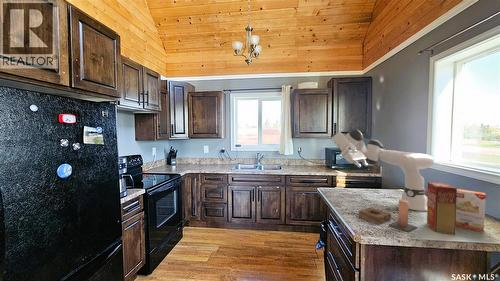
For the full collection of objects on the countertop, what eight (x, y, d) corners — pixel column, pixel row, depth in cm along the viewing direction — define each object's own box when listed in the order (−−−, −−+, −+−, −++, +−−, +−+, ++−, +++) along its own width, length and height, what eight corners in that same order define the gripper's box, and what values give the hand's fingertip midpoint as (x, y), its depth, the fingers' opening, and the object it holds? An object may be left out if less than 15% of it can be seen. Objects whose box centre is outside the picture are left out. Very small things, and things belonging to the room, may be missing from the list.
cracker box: (449, 224, 130) (451, 189, 129) (450, 221, 134) (451, 187, 133) (484, 232, 120) (486, 194, 119) (483, 229, 124) (485, 192, 123)
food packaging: (425, 222, 132) (427, 181, 131) (445, 225, 129) (446, 183, 128) (434, 232, 120) (436, 186, 119) (456, 235, 117) (458, 188, 116)
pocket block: (369, 213, 147) (370, 207, 147) (390, 220, 136) (391, 213, 136) (358, 217, 140) (358, 211, 140) (379, 224, 129) (379, 218, 129)
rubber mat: (397, 222, 133) (397, 220, 133) (416, 228, 125) (416, 226, 125) (388, 225, 128) (389, 224, 128) (408, 232, 119) (408, 230, 119)
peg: (400, 223, 129) (401, 199, 129) (408, 226, 126) (410, 201, 125) (396, 224, 127) (397, 200, 127) (405, 227, 123) (406, 202, 123)
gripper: (353, 152, 163) (366, 167, 156) (339, 154, 150) (352, 170, 143) (359, 147, 160) (373, 162, 152) (345, 148, 147) (360, 164, 139)
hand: (363, 166), depth 148 cm, fingers open, 8 cm apart
